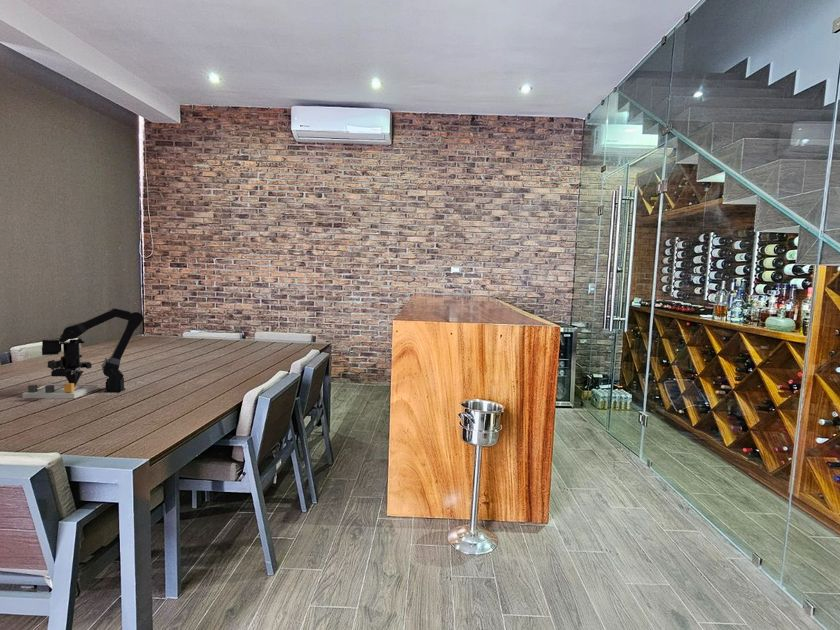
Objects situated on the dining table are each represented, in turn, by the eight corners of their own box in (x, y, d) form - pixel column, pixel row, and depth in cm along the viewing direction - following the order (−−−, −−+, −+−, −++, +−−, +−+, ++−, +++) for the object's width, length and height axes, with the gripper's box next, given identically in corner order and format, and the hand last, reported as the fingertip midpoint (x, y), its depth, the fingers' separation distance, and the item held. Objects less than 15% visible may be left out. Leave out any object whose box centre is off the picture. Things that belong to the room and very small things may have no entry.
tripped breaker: (74, 391, 205) (74, 383, 204) (71, 392, 203) (71, 384, 202) (67, 390, 204) (66, 383, 204) (64, 392, 202) (63, 384, 202)
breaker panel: (97, 388, 218) (97, 378, 218) (74, 398, 202) (74, 387, 201) (49, 388, 216) (49, 377, 216) (22, 397, 199) (22, 386, 199)
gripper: (66, 349, 213) (67, 382, 214) (36, 357, 194) (38, 393, 196) (91, 350, 214) (92, 382, 215) (65, 357, 195) (66, 393, 197)
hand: (72, 387), depth 206 cm, fingers closed
